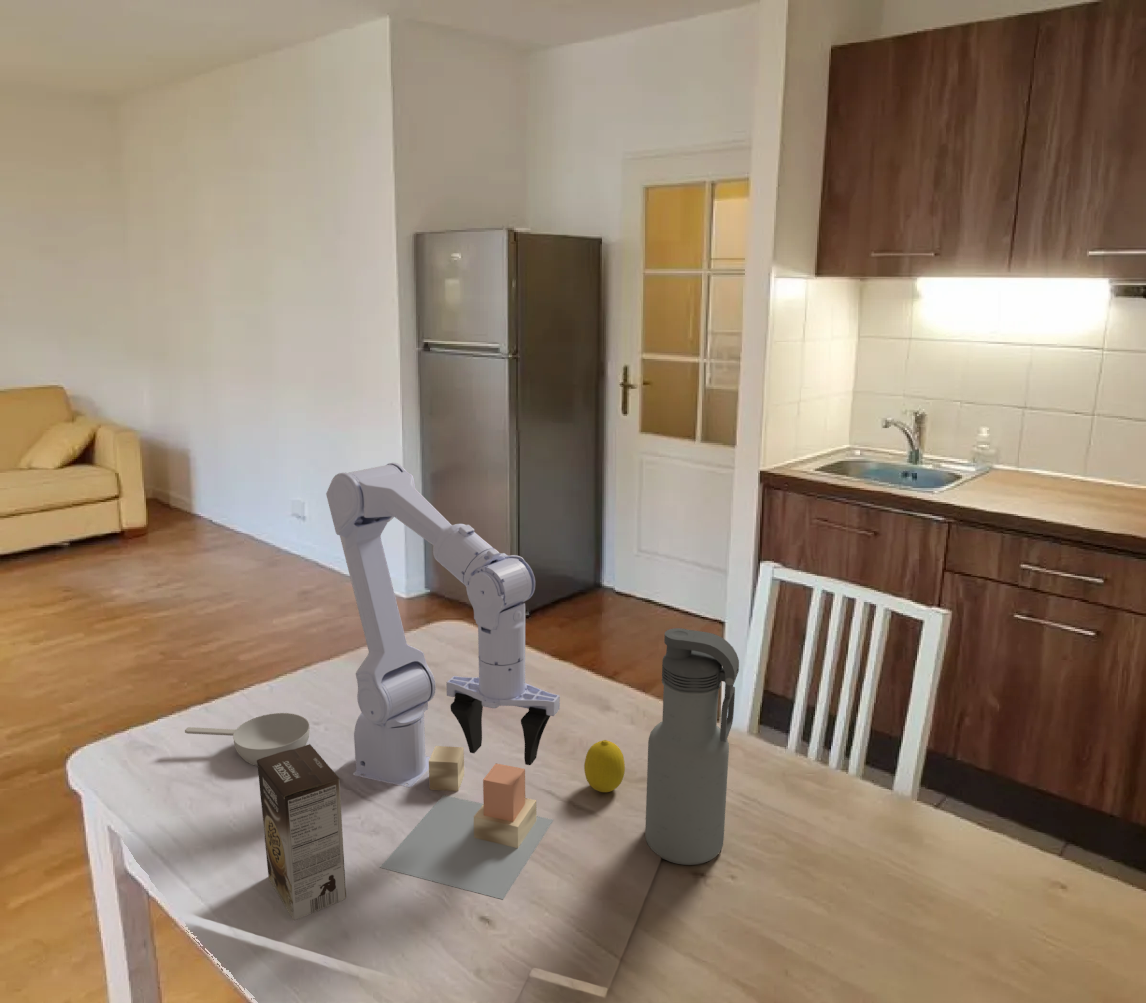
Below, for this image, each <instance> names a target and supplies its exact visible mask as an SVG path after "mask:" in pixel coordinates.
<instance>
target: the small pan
mask: <svg viewBox="0 0 1146 1003" xmlns="http://www.w3.org/2000/svg"><path fill="white" fill-rule="evenodd" d="M184 733H185V734H189V735H190V734H192V735H209V736H211V735H213V736H232V739H233V745H234V748H235V751H236V752H237V753H238V754H239V757H240V758H242V759H243V760H244V761H245V762H246V763H248V764H250V765H252V766H256V767H258V765H257V760H258V759H261V758H264V757H267V756H270V755H273V754H276V753H279V752H283V751H287V750H291V749H296V748H300V747H303V746H306V745H307V743H308V741H309V738H310V722H309V720H307V719H306V718H305V717H304V716H303V715H299V714H296V713H289V712H275V713H268V714H264V715H260V716H257V717H254V718H250V719H248V720H246V721H245V722H243V723H242V724H240V725H239V726H238V727H237V728H236V729H235V728H233V729H232V728H231V729H230V728H216V727H215V728H212V727H211V728H209V727H191V726H190V727H186V728H185V729H184Z"/></svg>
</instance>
